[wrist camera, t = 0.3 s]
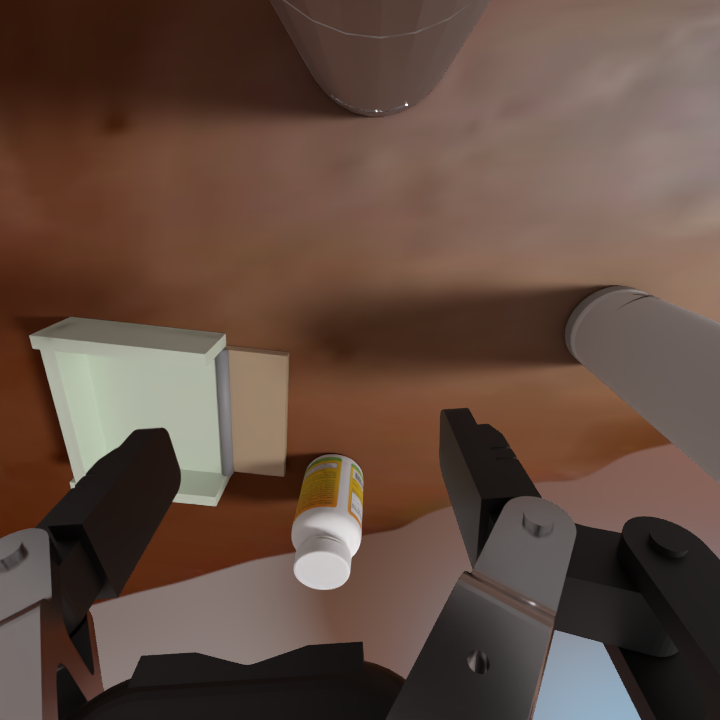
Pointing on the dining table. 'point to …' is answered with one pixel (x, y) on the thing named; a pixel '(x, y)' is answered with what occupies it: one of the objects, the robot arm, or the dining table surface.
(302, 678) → the robot arm
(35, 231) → the dining table surface
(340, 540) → the supplement bottle
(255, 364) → the tray
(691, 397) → the travel mug
